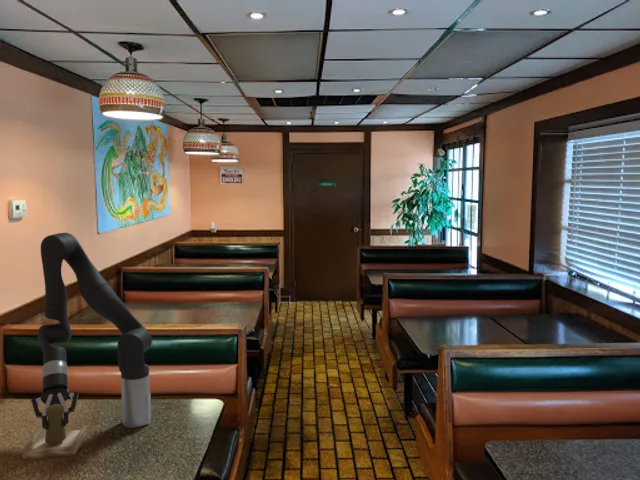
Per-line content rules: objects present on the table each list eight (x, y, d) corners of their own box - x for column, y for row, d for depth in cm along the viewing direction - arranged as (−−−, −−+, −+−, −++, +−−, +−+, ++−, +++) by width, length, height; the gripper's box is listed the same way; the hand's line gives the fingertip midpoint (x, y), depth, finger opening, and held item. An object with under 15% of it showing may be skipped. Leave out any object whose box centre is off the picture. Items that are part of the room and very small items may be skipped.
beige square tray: (87, 431, 168) (87, 424, 167) (75, 455, 153) (74, 447, 153) (39, 435, 165) (39, 428, 164) (21, 459, 150) (21, 451, 150)
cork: (70, 434, 161) (69, 402, 160) (58, 444, 155) (57, 410, 154) (52, 433, 162) (52, 400, 161) (40, 442, 156) (39, 409, 155)
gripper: (29, 375, 160) (28, 427, 151) (78, 368, 166) (80, 418, 157) (31, 385, 165) (30, 436, 156) (79, 378, 172) (80, 426, 162)
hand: (55, 426), depth 157 cm, fingers closed on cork, 4 cm apart
